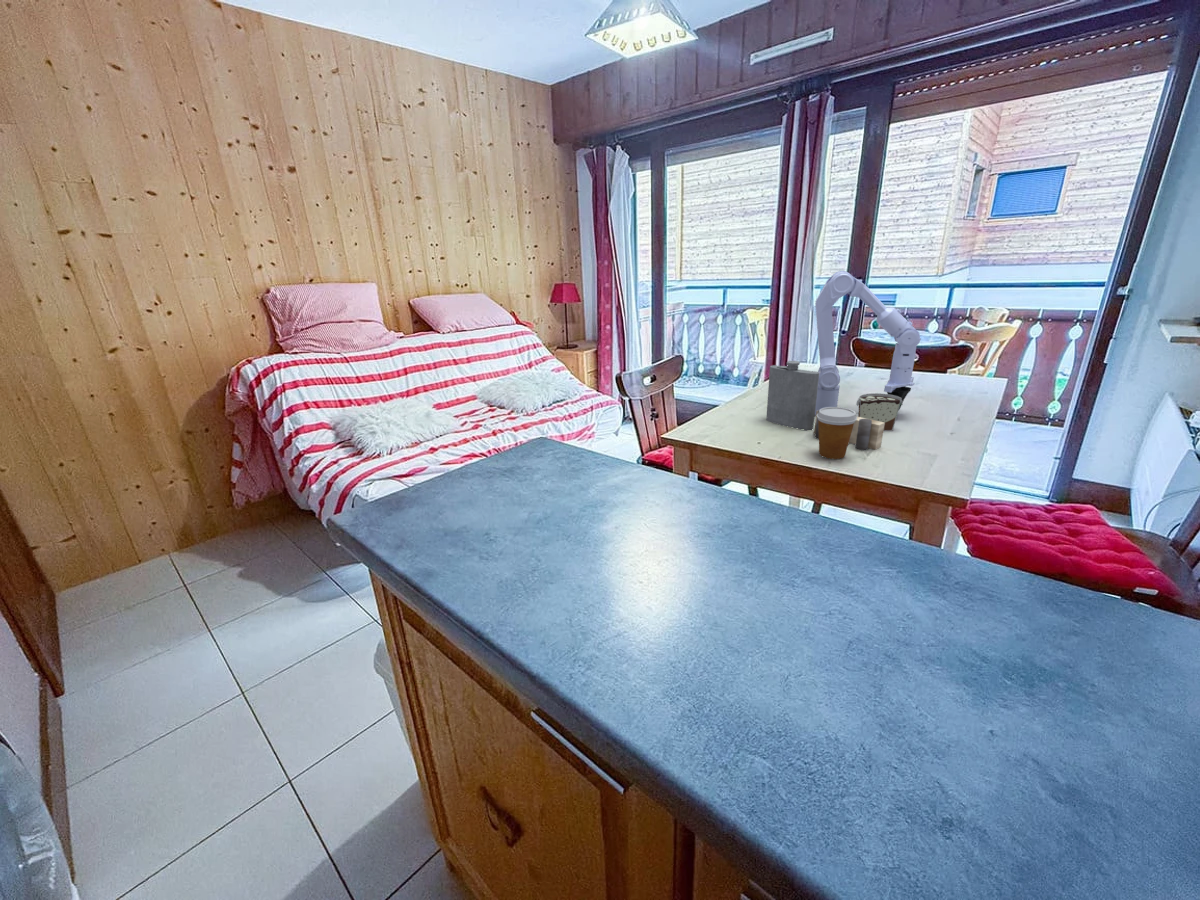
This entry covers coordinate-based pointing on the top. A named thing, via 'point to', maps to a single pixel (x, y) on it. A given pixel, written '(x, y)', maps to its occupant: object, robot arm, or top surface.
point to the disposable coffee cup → (835, 431)
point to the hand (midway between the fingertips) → (894, 410)
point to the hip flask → (792, 396)
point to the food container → (880, 408)
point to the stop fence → (862, 433)
